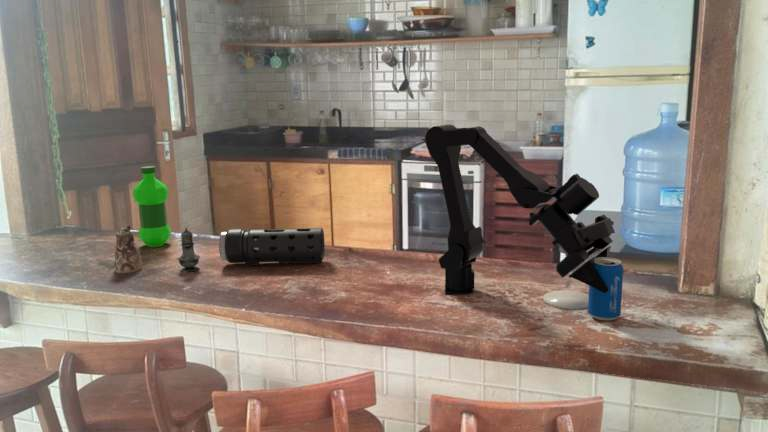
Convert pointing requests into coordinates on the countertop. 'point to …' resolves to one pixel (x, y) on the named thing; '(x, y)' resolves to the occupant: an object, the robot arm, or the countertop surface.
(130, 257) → the figurine
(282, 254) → the muzzle brake
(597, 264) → the beverage can
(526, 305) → the countertop surface
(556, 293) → the white round disc
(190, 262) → the salt shaker
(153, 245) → the plastic bottle
